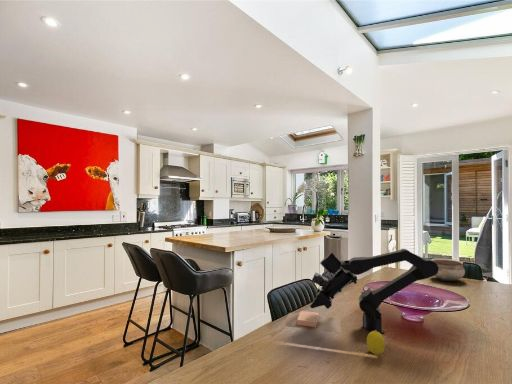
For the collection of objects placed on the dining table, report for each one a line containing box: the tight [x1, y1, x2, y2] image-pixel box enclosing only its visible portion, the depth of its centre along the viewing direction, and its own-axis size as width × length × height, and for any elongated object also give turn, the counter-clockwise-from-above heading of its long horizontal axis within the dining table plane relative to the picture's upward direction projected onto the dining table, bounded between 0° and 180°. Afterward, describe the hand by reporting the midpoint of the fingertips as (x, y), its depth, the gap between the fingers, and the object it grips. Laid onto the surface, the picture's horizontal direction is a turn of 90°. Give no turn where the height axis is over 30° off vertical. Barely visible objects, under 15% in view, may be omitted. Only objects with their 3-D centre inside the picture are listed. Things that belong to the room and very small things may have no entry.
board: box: [282, 312, 342, 334], centre depth 120 cm, size 22×14×1 cm, turn 73°
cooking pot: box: [430, 258, 466, 283], centre depth 187 cm, size 25×19×12 cm
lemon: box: [366, 330, 386, 357], centre depth 95 cm, size 6×6×8 cm
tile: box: [297, 310, 319, 327], centre depth 120 cm, size 2×10×8 cm
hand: (310, 307), depth 120 cm, fingers closed
